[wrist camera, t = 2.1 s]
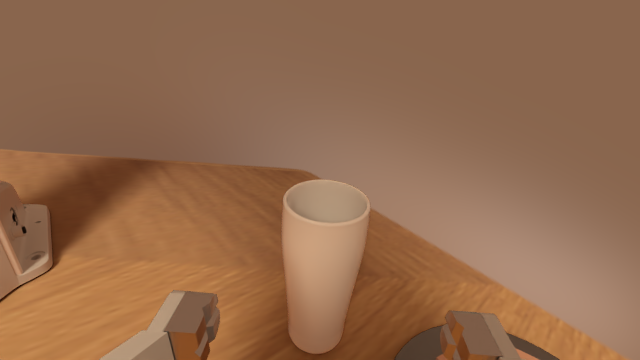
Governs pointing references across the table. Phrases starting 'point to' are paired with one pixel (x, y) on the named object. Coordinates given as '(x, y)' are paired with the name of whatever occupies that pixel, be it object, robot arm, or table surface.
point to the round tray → (426, 356)
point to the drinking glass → (321, 258)
